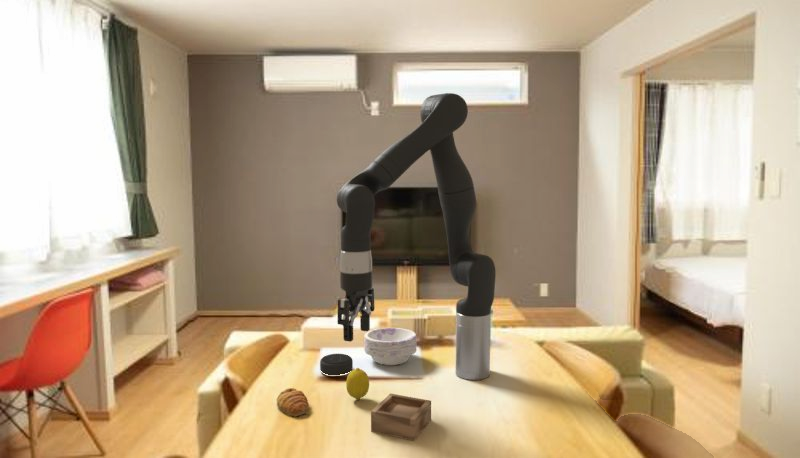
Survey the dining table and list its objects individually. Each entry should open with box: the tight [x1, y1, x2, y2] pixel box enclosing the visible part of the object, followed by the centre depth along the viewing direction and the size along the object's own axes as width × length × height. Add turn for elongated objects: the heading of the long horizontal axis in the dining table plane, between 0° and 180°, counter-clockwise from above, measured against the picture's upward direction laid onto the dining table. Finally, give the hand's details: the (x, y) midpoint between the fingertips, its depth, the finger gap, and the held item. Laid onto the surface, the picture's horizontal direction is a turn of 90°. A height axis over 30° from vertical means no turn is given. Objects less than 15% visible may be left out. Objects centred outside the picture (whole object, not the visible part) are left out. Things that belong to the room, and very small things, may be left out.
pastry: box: [276, 387, 309, 417], centre depth 129 cm, size 9×7×4 cm
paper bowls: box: [363, 327, 418, 366], centre depth 160 cm, size 15×15×8 cm
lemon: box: [345, 367, 370, 401], centre depth 133 cm, size 6×6×8 cm
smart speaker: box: [319, 353, 354, 375], centre depth 152 cm, size 9×9×4 cm
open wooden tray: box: [370, 393, 432, 441], centre depth 120 cm, size 10×10×4 cm
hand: (357, 335), depth 132 cm, fingers open, 8 cm apart
